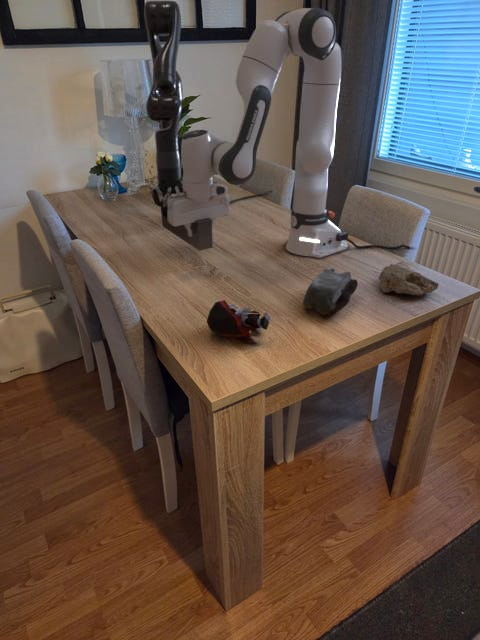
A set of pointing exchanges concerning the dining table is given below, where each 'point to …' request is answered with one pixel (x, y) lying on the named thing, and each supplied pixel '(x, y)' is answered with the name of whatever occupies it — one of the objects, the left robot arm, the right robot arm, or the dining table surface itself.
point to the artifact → (405, 280)
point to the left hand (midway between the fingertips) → (172, 215)
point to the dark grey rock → (330, 292)
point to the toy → (235, 321)
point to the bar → (201, 232)
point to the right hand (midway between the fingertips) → (200, 233)
